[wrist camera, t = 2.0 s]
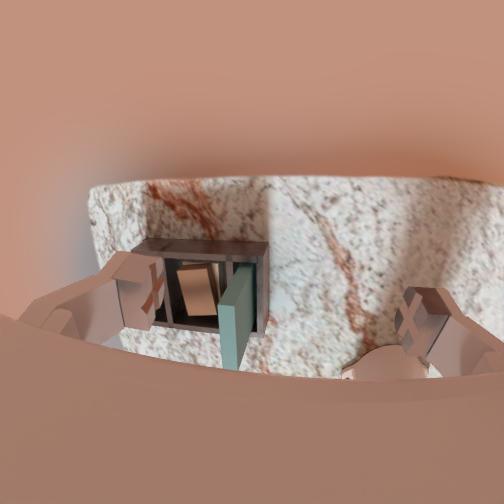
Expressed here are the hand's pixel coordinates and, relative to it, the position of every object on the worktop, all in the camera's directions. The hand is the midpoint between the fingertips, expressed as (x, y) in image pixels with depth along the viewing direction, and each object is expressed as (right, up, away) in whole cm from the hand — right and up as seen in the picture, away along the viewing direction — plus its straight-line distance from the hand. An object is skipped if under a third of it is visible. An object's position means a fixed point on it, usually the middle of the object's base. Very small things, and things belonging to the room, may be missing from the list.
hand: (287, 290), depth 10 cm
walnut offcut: (-9, -4, +42) cm, 43 cm away
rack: (-10, -3, +46) cm, 47 cm away
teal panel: (-1, -4, +43) cm, 43 cm away
